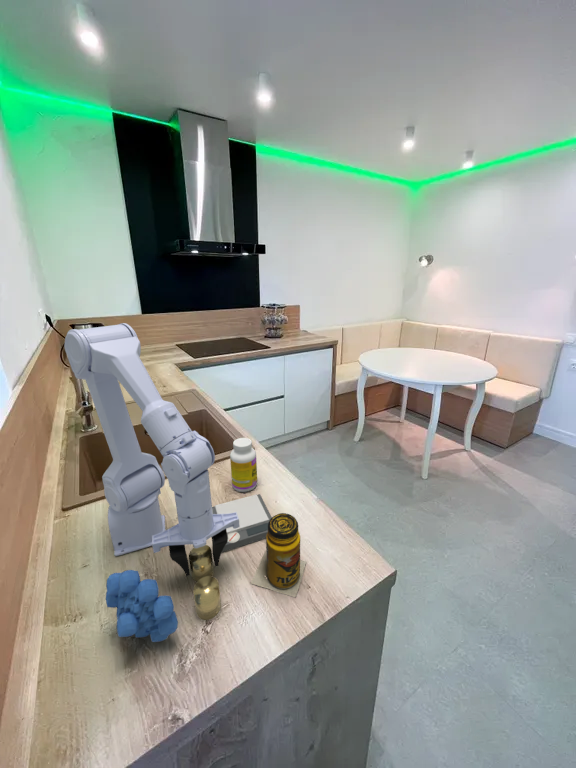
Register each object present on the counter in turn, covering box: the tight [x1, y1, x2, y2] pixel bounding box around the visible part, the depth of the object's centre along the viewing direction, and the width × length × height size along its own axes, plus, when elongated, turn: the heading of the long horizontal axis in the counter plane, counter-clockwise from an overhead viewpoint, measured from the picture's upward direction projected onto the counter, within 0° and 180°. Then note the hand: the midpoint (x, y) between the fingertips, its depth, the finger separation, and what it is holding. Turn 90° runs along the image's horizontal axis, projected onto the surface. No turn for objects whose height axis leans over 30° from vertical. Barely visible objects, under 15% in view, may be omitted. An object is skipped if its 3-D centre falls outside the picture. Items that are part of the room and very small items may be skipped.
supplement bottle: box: [229, 437, 258, 493], centre depth 79 cm, size 7×7×13 cm
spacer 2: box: [192, 575, 222, 621], centre depth 50 cm, size 4×4×5 cm
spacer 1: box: [188, 544, 214, 583], centre depth 56 cm, size 4×4×5 cm
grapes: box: [105, 569, 179, 643], centre depth 45 cm, size 12×7×12 cm, turn 74°
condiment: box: [250, 512, 307, 598], centre depth 55 cm, size 7×8×12 cm
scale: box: [212, 493, 273, 553], centre depth 68 cm, size 12×12×2 cm
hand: (201, 566), depth 57 cm, fingers open, 4 cm apart
